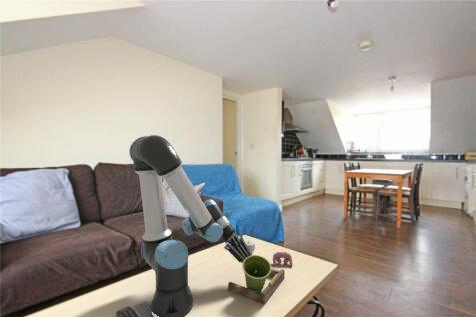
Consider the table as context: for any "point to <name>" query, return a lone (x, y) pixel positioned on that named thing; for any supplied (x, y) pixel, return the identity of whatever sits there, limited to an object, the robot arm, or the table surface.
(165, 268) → the robot arm
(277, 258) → the video game controller
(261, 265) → the plant pot
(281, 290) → the table surface
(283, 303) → the table surface
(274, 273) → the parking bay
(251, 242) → the apple
